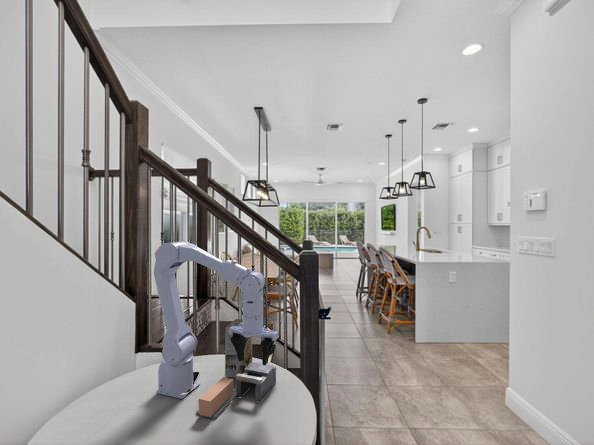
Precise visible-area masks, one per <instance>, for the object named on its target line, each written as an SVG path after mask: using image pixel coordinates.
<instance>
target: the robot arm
mask: <svg viewBox="0 0 594 445" xmlns="http://www.w3.org/2000/svg"><path fill="white" fill-rule="evenodd" d="M154 258H155V261H154V262H155V263H154V267H153V276H154V277H153V278H154V280H155V285H156V290H157V295H158V298H159V302H160V307H161V312H162V317H163V321H164V326H165V331H166V332H165V333H164V337H163V339H162V352H161V355H162V360H161V362H160V363H159V367H158V372H157V373H158V375H157V376H158V378H157V379H158V389H157V390H156V394H159V395H164V396H167V397H171V398H176V399H180V400H181V399H182V400H183V399H184V398H186V397H187V396H188V395H187V394H185V395H180V394H182V393H184V392H187V391H188V390H189V389H191V388H192V387H193V382H195V384H194V388H193V389H194V390H195V389H197V386H198V385H199V386H200V385H201V384H200V382H197V381H194V351H195V350H196V349H197V346H198V339H197V337H196V336H195V334H194V332H193V330H192V327H191V326H189V325H188V324H187V323H186V319H185V315H184V311H183V306H182V303H181V297H180V292H179V289H178V288H179V287H178V283H177V279H176V276H175V274H176V273H177V271H178V270H179V269H180V267H181V266H182V265H183V264H184V263H187V262H195V263H197V264H199V265H202V266H204V267H207V268H209V269H211V270H213V271H215V272H217V274H218V278H220V279H221V280H224V281H226V282H227V283H230V284H232V285H234V286H236V287H237V288H240V291H241V292H242V294H243V295H242V319H243V326H232V327H230V328H229V335H233V336H232V337H231V338H230V340H231V342H232V344H233V345H234V347H235V350H236V353H237V356H238V360H239V361H242V360H243V359H244V345H245V337H252V338H259V339H263V340H261V341H260V346H261V347H260V349H261V352H262V355H261V356H262V359H261V360H262V362H261V364H263V365H264V366H265V365H268V362H269V358H270V354H271V350H272V348H273V346H274V344H275V342H276V341H277V340H278V339H279V338H278V337H279V334H278V333H279V331H275V330H273V329H268V328H266V327H264V297H263V296H264V291H263V290H264V289H263V288H264V286H265V284H266V278H265V276H264V274H263V273H262V272H260V271H259V270H252V268H250V267H247V268H246V267H245V266H243V265H241V264H240V263H238V261H237V260H236V259H232V260H231V259H227V260H225V261H223V260H221V259H220V258H218V257H216V256H214V255H212V254H211V253H209V252H208V251H206V250H204V249H202V248H200V247H198V245H196V244H193V243H190V242H189V241H187V240H180V241H174V242H163V243H162V244H161V245H160V246H159V247H158V248H157V250H156V251H155V252H154ZM199 386H198V387H199ZM193 389H192V390H193ZM194 390H193V391H194ZM186 395H187V396H186Z"/></svg>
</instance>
